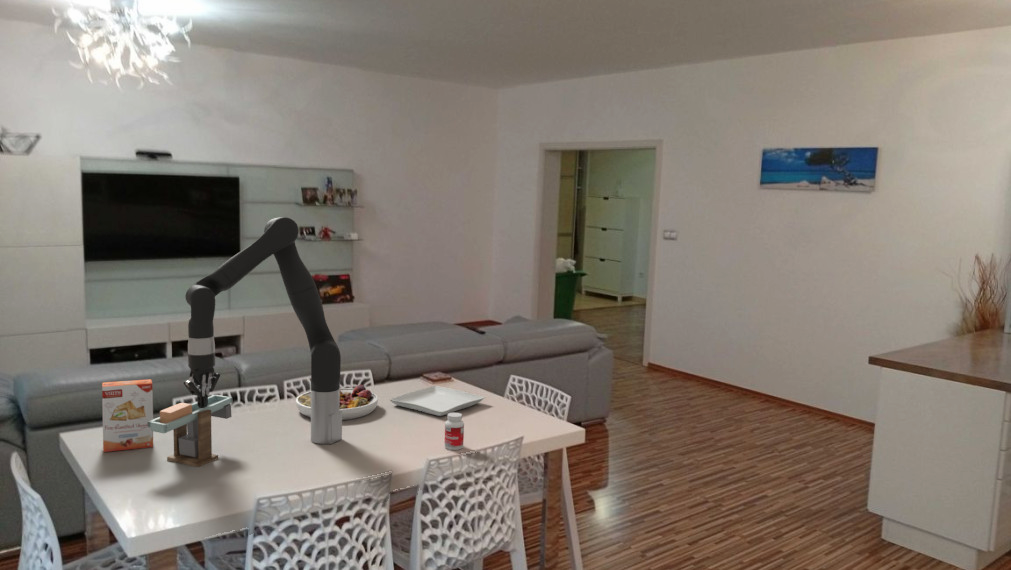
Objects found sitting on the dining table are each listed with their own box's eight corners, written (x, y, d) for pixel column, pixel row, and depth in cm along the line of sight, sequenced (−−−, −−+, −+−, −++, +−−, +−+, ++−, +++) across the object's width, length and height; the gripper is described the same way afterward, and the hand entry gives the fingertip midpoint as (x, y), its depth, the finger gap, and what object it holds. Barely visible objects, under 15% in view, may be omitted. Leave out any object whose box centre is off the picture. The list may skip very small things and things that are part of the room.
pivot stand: (218, 458, 223) (217, 408, 222) (198, 466, 216) (197, 415, 214) (187, 452, 228) (187, 403, 226) (167, 460, 220) (166, 409, 219)
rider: (192, 417, 218) (191, 404, 217) (171, 426, 210) (170, 413, 210) (182, 415, 219) (181, 402, 219) (160, 424, 212) (159, 411, 211)
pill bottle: (441, 448, 239) (441, 415, 237) (449, 443, 244) (450, 410, 243) (458, 451, 236) (459, 418, 235) (466, 446, 242) (467, 413, 241)
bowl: (337, 428, 257) (337, 406, 256) (278, 412, 272) (278, 392, 271) (394, 409, 282) (394, 389, 281) (337, 396, 298) (337, 377, 297)
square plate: (434, 393, 307) (434, 384, 307) (486, 405, 291) (486, 396, 291) (388, 406, 285) (388, 397, 285) (441, 421, 269) (441, 410, 269)
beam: (234, 438, 233) (232, 397, 231) (169, 470, 209) (166, 425, 207) (217, 435, 236) (214, 394, 233) (151, 466, 212) (147, 421, 209)
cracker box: (103, 453, 224) (101, 386, 222) (103, 447, 230) (101, 381, 227) (154, 447, 231) (152, 382, 228) (153, 441, 236) (151, 378, 234)
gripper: (194, 356, 214) (196, 414, 216) (227, 348, 226) (228, 403, 228) (174, 354, 217) (176, 411, 219) (207, 346, 229) (209, 400, 231)
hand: (203, 407), depth 224 cm, fingers closed
